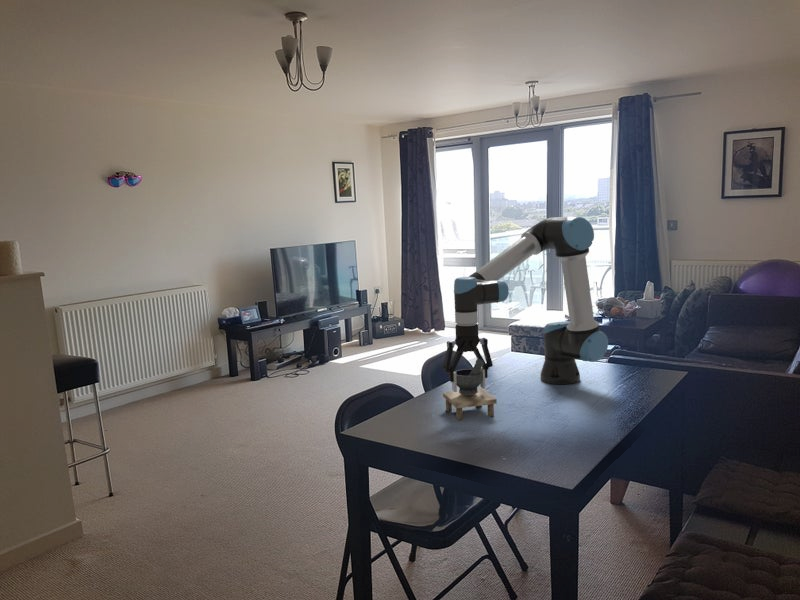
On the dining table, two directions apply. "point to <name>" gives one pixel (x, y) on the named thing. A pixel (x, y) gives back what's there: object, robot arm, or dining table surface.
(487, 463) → the dining table surface
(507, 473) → the dining table surface
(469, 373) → the mortar and pestle
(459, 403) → the oak footstool
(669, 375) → the dining table surface
